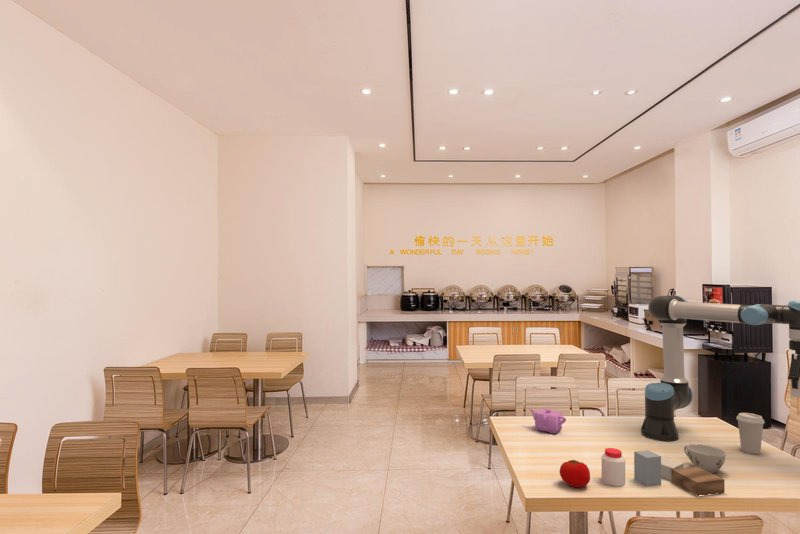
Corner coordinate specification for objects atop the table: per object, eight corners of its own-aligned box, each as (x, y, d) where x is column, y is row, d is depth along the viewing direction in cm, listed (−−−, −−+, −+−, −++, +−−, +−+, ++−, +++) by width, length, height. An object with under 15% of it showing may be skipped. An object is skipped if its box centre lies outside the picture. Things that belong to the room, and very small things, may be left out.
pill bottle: (597, 477, 167) (597, 446, 168) (617, 476, 168) (617, 446, 168) (608, 486, 160) (608, 455, 160) (629, 486, 160) (629, 454, 161)
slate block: (634, 479, 166) (634, 451, 166) (648, 477, 167) (647, 450, 168) (647, 486, 160) (646, 457, 160) (661, 484, 162) (660, 456, 162)
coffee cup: (770, 456, 188) (769, 419, 188) (744, 454, 190) (743, 418, 190) (757, 447, 197) (756, 412, 197) (732, 446, 199) (731, 411, 199)
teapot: (523, 430, 219) (523, 409, 219) (533, 422, 230) (533, 402, 230) (562, 438, 208) (562, 415, 208) (570, 430, 219) (570, 408, 220)
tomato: (595, 490, 157) (595, 466, 157) (566, 491, 156) (566, 466, 156) (582, 478, 166) (582, 455, 166) (555, 479, 165) (555, 456, 165)
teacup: (734, 474, 170) (734, 453, 170) (710, 479, 166) (710, 457, 166) (696, 459, 184) (695, 439, 184) (673, 463, 180) (673, 443, 180)
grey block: (650, 474, 171) (650, 460, 171) (661, 469, 175) (661, 456, 175) (673, 482, 164) (673, 468, 164) (683, 476, 169) (683, 463, 169)
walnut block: (671, 483, 163) (671, 469, 164) (696, 480, 166) (696, 466, 166) (697, 497, 153) (697, 482, 153) (724, 494, 155) (724, 479, 155)
